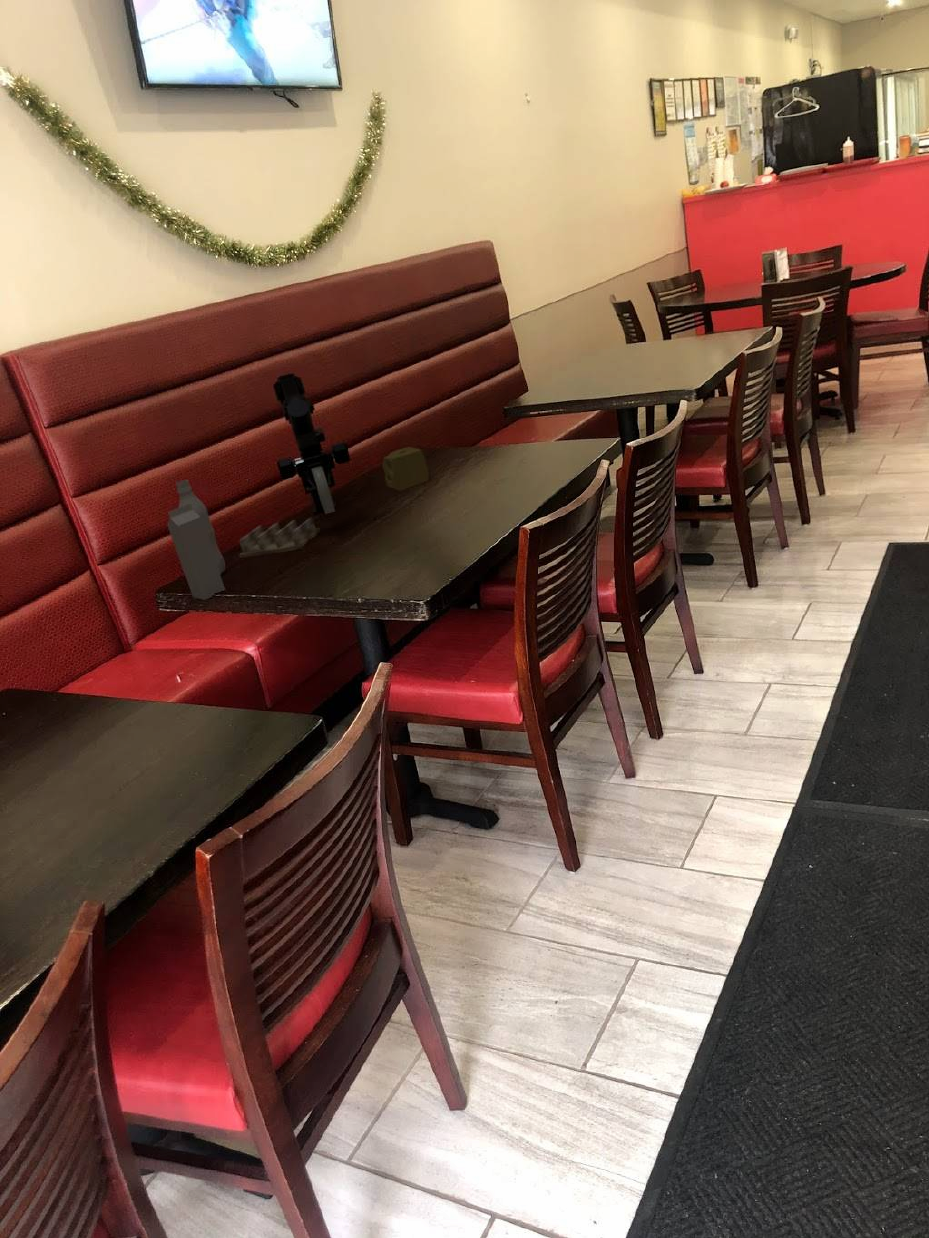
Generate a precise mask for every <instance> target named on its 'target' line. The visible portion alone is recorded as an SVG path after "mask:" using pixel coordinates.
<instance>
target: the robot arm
mask: <svg viewBox="0 0 929 1238" xmlns="http://www.w3.org/2000/svg"><path fill="white" fill-rule="evenodd" d="M276 379H277V381H276V382H274V384H273V385H272V386H273V391H274V393H275V397H276V400H277V402H280V406H281V408H282V413H283V416H284V419H285V421H286V422H287V421H288V423H289V424H290V426H291V430H292V433H293V436H294V439H295V442H296V445H297V446H296V447H297V448H298V452H299V455H300V457H299V458H295V459H294V460H293V459H292V457H291V456H289V457H285V458H283V459H279V460H277V462H276V464H277V467H278V471H279V474H280V477H281V480H284V481H285V480H288V479H292V478H295V476H296V473H297V475H298V477H299V478H301V479H300V480H301V481H302V482H301V483H302V486H303V491H304V492H305V495H308V494H310V497H311V499H312V503H313V507H314V509H313V511H312V514H318V513H323V512H324V510H323V507H322V504H321V500H320V497H319V494H318V491H317V485H316V482H315V480H314V477H313V473H312V468H315V467H319V466H322V469H323V471H324V474H325V477H326V481H327V484H328V487H329V490H330V488H333V487H334V486H336V483H335V479H334V474H333V469H335V468H336V464H337V465H342V464H345V463H348V462H350V461H351V458H350V452H349V448H348V445H347V443H345V442H343V441H342V442H339V443H335V444H332V445H331V446H330V447H331V450H330V451H325V452H323V447H322V444H321V443H322V442H325V441H326V437H325V434H324V431H323V428H322V427H320V428H316V429H315V426H314V422H313V417H312V415H314V411H315V410H316V408H315V406H314V404H312V402H310V400H307V397H306V391H305V388H304V387H305V386H304V384H303V381H302V378H301V377H299V376H297V375H295V373H292V372H291V373H288V374H282V375H280V376H278V377H277V378H276ZM330 491H331V490H330ZM330 494H331V497H332V493H331V492H330ZM332 498H333V497H332ZM332 501H333V499H332ZM333 505H334V509H335V508H336V506H337V501H335V502H334V501H333ZM324 513H325V512H324Z"/></svg>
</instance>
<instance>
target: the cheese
mask: <svg viewBox="0 0 929 1238" xmlns="http://www.w3.org/2000/svg"><path fill="white" fill-rule="evenodd" d="M382 469H383V471H384V479H385V483H386V484H385V485H386V486H387V487H388V488H392V489H394V490H397V492H401V491H404V490H407V489H410V488H412V487H415V486H418V485H421V484H423V483H427V482H430V481H429V480H430V477H429V469H428V464H427V460H426V457H425V455H424V453H423V450H422V449H419V448H416V447H415V448H414V447H411V446H406V447H403V448H399V449H396V450H394V451H391V452H390V453H389V454H388V455H386V456H384V457H383V462H382Z"/></svg>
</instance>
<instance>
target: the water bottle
mask: <svg viewBox="0 0 929 1238" xmlns="http://www.w3.org/2000/svg"><path fill="white" fill-rule="evenodd" d="M175 484H176V487H177V489H176V490H177V493H178V495H179V503H178V508H180V507H182V506H185V505H187V504H191V507H192V510H193V511H195V512H196V513H197V514H198V515H199V516H200V518H201V520H202V523H203V526H204V529H205V532H206V535H207V538H208V541H209V544H210V547H211V550H212V552H213V555H214V558H215V561H216V564H217V567H218V570H219V573H220V576H221V575H222V574H223V573H224V572H225V570H226V563H225V558H224V556H223V555H222V553H221V551H220V549H219V546H218V544H217V543H218V542H217V540H216V534H215V530H214V528H213V525H212V524H213V523H211V520H210V516H209V513H208V509H207V506H205V504H204V503H203V502H202V501H201V500H200V499H199V497H197V496H196V495H195V494H194V492H193V490H192V488H193V487H191V485H190V483H189V480H188V479H184V480H183V479H182V480H179V481H177V482H176V483H175Z"/></svg>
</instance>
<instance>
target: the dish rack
mask: <svg viewBox="0 0 929 1238" xmlns="http://www.w3.org/2000/svg"><path fill="white" fill-rule="evenodd" d="M320 531H321V532H322V530H321V528H320V527H318V528H316V526H315V522H314V518H313V517H309V518H307V519H306V520H304V522H302V523H301V524H300V525H297V521H296V519H293V520H291V521H290V522H289V523H287V524H286V525H285V526H284V527H283V528H281V527H280V524H279V522H276V523H274V524H272V525H271V526H269V528H266V530H265V531H264V527H263V525H262V524H261V525H258V526H257V527H255V528H254V529H253V530H251V531H250V532H249V533H247V534H246V535H245V536H243V537H242V538H240V539H239V540H238V542H239V544H240V547H241V551H242V552H240V553H239V554H238V557H239V559H243V558H245V559H246V558H250V557H258V556H263V555H270V554H272V555H273V554H278V553H286V552H291V551H292V552H293V551H298V550H297V549H300V548H301V549H303V547H304V545H305V544H306V543H307V542H308V541H309V540H310V541H311V539H312V538H313V537H314V538H315V537H316V536H318V533H319V534H320V533H321V532H320ZM314 538H313V539H314ZM313 539H312V540H313ZM310 541H309V542H310ZM309 542H308V543H309ZM308 543H307V544H308ZM307 544H306V545H307ZM306 545H305V546H306ZM302 546H303V547H302ZM301 549H300V550H301Z"/></svg>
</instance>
